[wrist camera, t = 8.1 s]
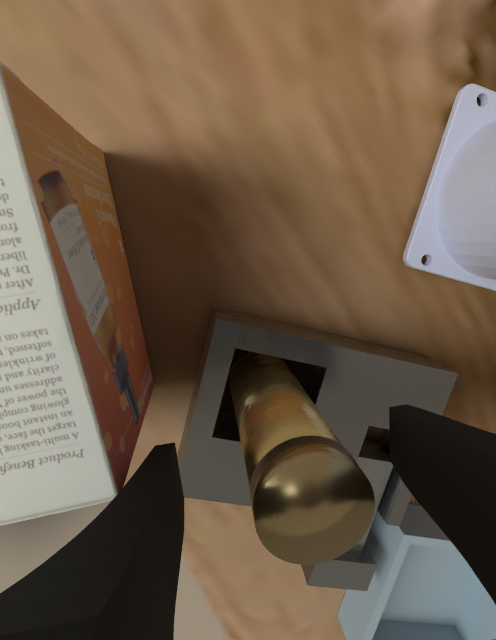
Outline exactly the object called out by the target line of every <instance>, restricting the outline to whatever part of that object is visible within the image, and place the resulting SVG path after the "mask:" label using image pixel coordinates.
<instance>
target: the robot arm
mask: <svg viewBox="0 0 496 640" xmlns="http://www.w3.org/2000/svg"><path fill="white" fill-rule="evenodd" d="M477 97H479V98H480V100H481V105H480V106H478V105H477V102H476V100H477ZM424 255H426V257H427V261H426V263H425V264H422V262H421V259H422V257H423V256H424ZM403 261H404V263H405V265H406V266H408V267H410V268H414V269H417V270H421V271H425V272H428V273H432V274H435V275H439V276H443V277H446V278H450V279H453V280H457V281H461V282H464V283H468V284H471V285H475V286H479V287H482V288H486V289H489V290H493V291H496V92H495V91H492V90H489V89H487V88H484V87H482V86H479V85H477V84H469V85H466V86H465V87H463V88H462V89H461V90H459V92H458V94H457V96H456V99H455V102H454V105H453V108H452V111H451V114H450V117H449V120H448V123H447V126H446V128H445V131H444V134H443V137H442V140H441V143H440V146H439V149H438V152H437V155H436V158H435V161H434V164H433V167H432V170H431V173H430V176H429V179H428V182H427V185H426V188H425V191H424V194H423V197H422V200H421V203H420V206H419V209H418V212H417V215H416V218H415V221H414V224H413V227H412V230H411V233H410V236H409V239H408V242H407V245H406V248H405V251H404V254H403ZM389 429H390V461H391V463H392V465H393V466H394V468H395V470H396V471H397V473H398V475H399V476H400V478H401V480H402V481H403V483H404V484H405V486H406V487H407V488H408V490H409V491H410V492H411V494H412V495H413V496H414V497H415V498H416V500H417V501H418V502H419V503H420V505H421V506H422V507H423V508H424V510H425V511H426V512H427V513H428V514H429V516H430V517H431V518H432V519H433V520H434V522H435V523H436V524H437V525H438V526H439V528H440V529H441V530H442V531H443V533H444V534H445V535H446V536H447V537H448V539H449V540H450V541H451V542H452V543H453V545H454V546H455V547H456V548H457V550H458V551H459V552H460V554H461V555H462V556H463V558H464V559H465V560H466V562H467V563H468V564H469V566H470V567H471V569H472V570H473V572H474V573H475V575H476V576H477V578H478V579H479V581H480V582H481V584H482V585H483V586H484V588H485V589H486V591H487V592H488V594H489V595H490V597H491V598H492V600H493V602H494V603H495V605H496V434H494V433H490V432H487V431H484V430H481V429H478V428H475V427H472V426H469V425H466V424H463V423H461V422H458V421H455V420H452V419H449V418H447V417H444V416H441V415H438V414H436V413H433V412H430V411H427V410H424V409H421V408H418V407H415V406H411V405H407V404H405V405H399V406H393V407H389ZM183 535H184V494H183V489H182V483H181V477H180V471H179V465H178V459H177V453H176V447H175V443H169V444H163V445H157V446H155V447H154V448H153V449H152V451H151V452H150V453H149V455H148V456H147V457H146V459H145V460H144V461H143V463H142V464H141V465H140V467H139V468H138V469H137V471H136V472H135V473H134V475H133V476H132V477H131V478H130V480H129V481H128V482H127V484H126V485H125V486H124V487H123V489H122V490H121V491H120V492H119V493H118V494H117V495H116V497H115V498H114V499H113V500H112V501H111V502H110V503H109V505H108V506H107V507H106V508H105V509H104V510H103V511H102V512H101V513H100V514H99V515H98V516H97V517H96V518H95V519H94V520H93V521H92V522H91V523H90V524H89V525H88V526H87V527H86V528H85V529H84V530H82V531H81V533H79V534H78V535H77V536H76V537H75V538H74V539H72V540H71V541H70V542H69V543H67V544H66V545H65V546H64V547H63V548H61V549H60V550H59V551H58V552H57V553H55V554H54V555H53V556H52V557H50V558H49V559H48V560H47V561H46V562H44V563H43V564H42V565H40V566H39V567H37V568H36V569H35V570H33V571H32V572H31V573H29V574H28V575H27V576H25V577H24V578H23V579H21V580H20V581H18V582H16V583H15V584H14V585H12V586H11V587H9V588H8V589H6V590H5V591H3V592H2V593H0V640H173V632H174V614H175V603H176V595H177V586H178V578H179V569H180V561H181V552H182V544H183ZM492 640H496V639H492Z"/></svg>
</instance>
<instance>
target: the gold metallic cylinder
mask: <svg viewBox="0 0 496 640" xmlns="http://www.w3.org/2000/svg"><path fill="white" fill-rule="evenodd" d="M229 385H230V390H231V395H232V400H233V405H234V410H235V415H236V420H237V425H238V431H239V436H240V441H241V446H242V451H243V456H244V461H245V466H246V471H247V476H248V481H249V486H250V491H249V492H250V501H251V506H252V511H253V516H254V522H255V527H256V531H257V534H258V536H259V539H260V540H261V542H262V544H263V545H264V546H265V548H266V549H267V550H268V551H269V552H271V553H272V554H273V555H275V556H276V557H278V558H280V559H282V560H284V561H287V562H290V563H294V564H303V565H310V564H318V563H323V562H327V561H330V560H332V559H335V558H337V557H339V556H341V555H343V554H344V553H346V552H347V551H349V550H350V549H351V548H352V547H354V546H355V545H356V544H357V543H358V542H359V541H360V540H361V538H362V537H363V536H364V534H365V533H366V531H367V530H368V528H369V526H370V524H371V521H372V519H373V515H374V510H375V496H374V491H373V488H372V485H371V483H370V481H369V480H368V478H367V477H366V475H365V474H364V473H363V471H362V470H361V468H360V467H359V465H358V464H357V463H356V461H355V460H354V458H353V457H352V455H351V454H350V452H349V451H348V450H347V449H346V448H345V447H343V445H342V444H341V443H340V441H339V440H338V438H337V437H336V435H335V434H334V432H333V431H332V429H331V428H330V427H329V425H328V424H327V422H326V421H325V419H324V418H323V416H322V415H321V413H320V412H319V411H318V409H317V408H316V406H315V405H314V403H313V402H312V400H311V399H310V398H309V396H308V395H307V393H306V392H305V390H304V389H303V387H302V386H301V384H300V383H299V382H298V380H297V379H296V377H295V376H294V374H293V373H292V371H291V370H290V368H289V367H288V366H287V364H286V363H285V361H284V360H283V359H282V358H279V357H274V356H270V355H265V354H260V353H256V352H248V353H246V354H244V355H243V356H241V357H240V358H239V359H238V360H237V361H236V362H235V364H234V365H233V367H232V369H231V372H230V376H229Z"/></svg>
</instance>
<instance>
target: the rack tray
mask: <svg viewBox="0 0 496 640" xmlns="http://www.w3.org/2000/svg"><path fill="white" fill-rule="evenodd" d="M365 543H366V545H367V547H368V549H369V551H370V552H371V554H372V556H373V558H374V560H375V562H376V564H377V567H376V569H375V572H374V575H373V577H372V580H371V582H370V585H369V588H368V590H367V591H359V590H349V589H347V590H346V593H345V596H344V598H343V601H342V604H341V607H340V609H339V612H338V617H339V620H340V623H341V626H342V628H343V631H344V634H345V637H346V639H347V640H492V639H496V605H495V603H494V602H493V600H492V598H491V597H490V595H489V594H488V592H487V591H486V589H485V588H484V586H483V585H482V584H481V582H480V581H479V579H478V578H477V576H476V575H475V573H474V572H473V570H472V569H471V567H470V566H469V564H468V563H467V562H466V560H465V559H464V558H463V556H462V555H461V554H460V552H459V551H458V550H457V548H456V547H455V546H454V545H453V543H452V542H451V541H450V540H449V539H448V537H447V536H446V535H445V534H444V533H443V531H442V530H441V529H440V528H439V526H438V525H437V524H436V523H435V522H434V520H433V519H432V518H431V517H430V516H429V514H428V513H427V512H426V511H425V510H424V508H423V507H422V506H421V505H414V504H408V506H407V509H406V511H405V514H404V516H403V519H402V521H401V524H400V526H393V525H387V524H386V523H385V521H384V520H383V518H382V517H381V515H380V514H379V512H378V511H376V514H375V517H374V519H373V522H372V525H371V528H370V530H369V533H368V536H367V538H366V541H365Z"/></svg>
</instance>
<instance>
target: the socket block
mask: <svg viewBox="0 0 496 640" xmlns="http://www.w3.org/2000/svg"><path fill="white" fill-rule="evenodd" d="M235 348H237V349H242V350H246V351H251V352H256V353H260V354H265V355H270V356H274V357H279V358H284V359H288V360H293V361H298V362H303V363H305V365H304V369H303V372H302V375H301V379H300V382H299V383H300V384H301V386H302V387H303V389H304V390H305V392H306V393H307V395H308V396H309V398H310V399H311V400H312V402H313V403H314V405H315V406H316V408H317V409H318V411H319V412H320V413H321V415H322V416H323V418H324V419H325V421H326V422H327V424H328V425H329V427H330V428H331V429H332V431H333V432H334V434H335V435H336V437H337V438H338V440H339V441H340V443H341V444H342V445H343V447H345V448H346V449H347V450H348V451H349V452H350V454H351V455H352V457H353V458H354V460H355V461H356V462H357V459H358V456H359V453H360V450H361V447H362V444H363V441H364V438H365V436H366V433H367V430H368V427H369V426H373V427H378V428H384V432H383V435H382V437H381V440H380V443H379V446H380V447H381V448H382V449H383V450H384V452H385V453H386V454H387V455H388V456H389V457H390V429H389V407H393V406H399V405H405V404H407V405H411V406H415V407H418V408H421V409H424V410H427V411H430V412H433V413H436V414H438V415H441V416H442V415H443V413H444V410H445V407H446V405H447V402H448V400H449V397H450V394H451V392H452V389H453V387H454V384H455V381H456V379H457V376H458V374H459V373H457V372H455V371H453V370H451V369H449V368H447V367H445V366H443V365H442V364H440V363H438V362H436V361H434V360H432V359H430V358H428V357H426V356H424V355H421V354H417V353H412V352H408V351H404V350H399V349H395V348H391V347H386V346H382V345H378V344H373V343H369V342H365V341H361V340H356V339H352V338H348V337H343V336H339V335H335V334H330V333H326V332H322V331H317V330H313V329H309V328H304V327H300V326H296V325H291V324H287V323H283V322H278V321H274V320H270V319H266V318H261V317H257V316H253V315H248V314H244V313H240V312H235V311H231V310H227V309H222V308H218V307H214V309H213V313H212V318H211V322H210V326H209V330H208V334H207V338H206V342H205V346H204V350H203V354H202V358H201V363H200V367H199V371H198V375H197V379H196V383H195V387H194V391H193V395H192V399H191V403H190V408H189V412H188V416H187V420H186V424H185V428H184V432H183V436H182V440H181V444H180V449H179V453H178V457H177V459H178V465H179V471H180V477H181V483H182V489H183V494H184V497H187V498H194V499H202V500H209V501H216V502H224V503H231V504H238V505H246V506H251V501H250V492H249V491H250V486H249V481H248V476H247V471H246V466H245V461H244V456H243V451H242V446H241V441H240V436H239V431H238V425H237V420H236V415H235V413H229V412H224V411H219V408H220V404H221V400H222V396H223V392H224V389H225V385H226V381H227V377H228V373H229V369H230V366H231V362H232V358H233V354H234V350H235ZM411 496H412V494H411V492H410V491H409V490H408V488H407V487H406V486H405V484H404V483H403V481H402V480H401V478H400V476H399V475H398V473H397V471H396V470H395V468H394V466H393V468H392V471H391V473H390V476H389V479H388V481H387V484H386V487H385V490H384V492H383V495H382V498H381V500H380V503H379V506H378V509H377V511H378V512H379V514H380V515H381V517H382V518H383V520H384V521H385V523H386V524H387V525H393V526H400V524H401V521H402V519H403V516H404V514H405V511H406V509H407V506H408V503H409V501H410V498H411Z"/></svg>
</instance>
